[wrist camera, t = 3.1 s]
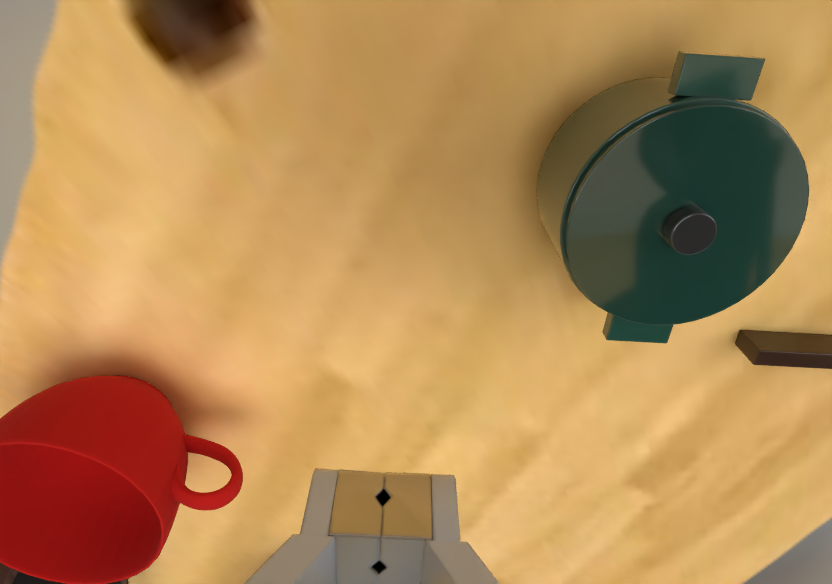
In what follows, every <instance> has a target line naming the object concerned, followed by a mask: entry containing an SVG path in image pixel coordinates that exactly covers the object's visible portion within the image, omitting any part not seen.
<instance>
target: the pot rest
mask: <svg viewBox="0 0 832 584" xmlns="http://www.w3.org/2000/svg"><path fill="white" fill-rule="evenodd" d="M735 344H736V345H737V347H738V348H739V349H740V350H741V351H742V352H743V353H744V355H745V356H746V357H747V358H748V359H749V360H750V361H751V362H752V364H754V365H768V366H787V367H806V368H824V369H832V335H818V334H800V333H782V332H764V331H746V330H741V331H740V333H739V336H738V338H737V340H736V343H735Z"/></svg>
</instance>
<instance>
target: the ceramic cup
mask: <svg viewBox="0 0 832 584" xmlns="http://www.w3.org/2000/svg"><path fill="white" fill-rule="evenodd" d="M188 452H191V453H197V454H201V455H205V456H208V457H211V458H213V459H216V460H218V461H220V462H222V463H223V464H225V465H226V466H227V467H228V468H229V469H230V471H231V474H232V476H231V479H230V481H229V482H228V483H227V484H226V485H225V486H224V487H223V488H221V489H219V490H217V491H214V492H208V493H199V492H194V491H192V490H190V489H188V488H187V487H186V486H185V479H186V473H187V465H188ZM242 482H243V473H242V468H241V466H240V463H239V461H238V459H237V458H236V456H235V455H234V454H233V453H232V452H231V451H230V450H228V449H227V448H225V447H224V446H222V445H219V444H217V443H214V442H211V441H208V440H205V439H201V438H198V437H194V436H189V435H185V432H184V430H183V427H182V425H181V422H180V420H179V418H178V416H177V414H176V412H175V411H174V409H173V408H172V406H171V403H170V402H169V400H168V399H167V397H166V396H165V395H164V394H163V393H162V392H161V391H160V390H158V389H157V388H156V387H154V386H153V385H151V384H149V383H147V382H145V381H143V380H140V379H138V378H134V377H129V376H121V375H116V376H93V377H84V378H79V379H75V380H71V381H67V382H64V383H60V384H58V385H55V386H52V387H50V388H48V389H46V390H44V391H42V392H40V393H38V394H36V395H34V396H32V397H31V398H29V399H27V400H25V401H24V402H22V403H21V404H19V405H18V406H16V407H15V408H13V409H12V410H11V411H9V412H8V413H7V414H6V415H4V416H3V417H2V418H1V419H0V563H2V564H4V565H6V566H7V567H10V568H12V569H15V570H17V571H20V572H22V573H25V574H27V575H30V576H34V577H38V578H41V579H45V580H49V581H54V582H60V583H66V584H107V583H112V582H117V581H122V580H124V579H127V578H130V577H132V576H135V575H137V574H139V573H140V572H142V571H143V570H145V569H147V568H148V567H149V566H150V565H151V564H152V563H153V562H154V561H155V560H156V559H157V558H158V556H159V555H160V552H161V550H162V548H163V546H164V544H165V542H166V540H167V537H168V535H169V533H170V530H171V527H172V525H173V522H174V519H175V516H176V513H177V511H178V507H179V504H180V503H182V504H183V505H185V506H188V507H190V508H193V509H197V510H214V509H218V508H221V507H223V506H225V505H227V504H228V503H230V502H231V501H232V500H233V499H234V498H235V497H236V496H237V495H238V493H239V491H240V489H241V486H242Z"/></svg>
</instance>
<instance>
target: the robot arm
mask: <svg viewBox="0 0 832 584" xmlns="http://www.w3.org/2000/svg"><path fill="white" fill-rule="evenodd" d="M244 584H499V582H498V581H497V580H496V578H495V577H494V576H493V574H492V573H491V572H490V571H489V569H488V568H487V567H486V565H485V564H484V563H483V562H482V560H481V559H480V558H479V556H478V555H477V554H476V552H475V551H474V550H473V549H472V547H471V546H470V545H469V543H468V542H460V529H459V517H458V504H457V492H456V479H455V477H454V475H439V474H431V475H430V474H419V473H390V472H385V473H379V472H365V471H351V470H333V469H318V468H316V469H315V471H314V473H313V476H312V480H311V485H310V490H309V494H308V499H307V504H306V508H305V513H304V518H303V522H302V527H301V532H300V535H298V534H293V535H292V536H291V537H290V538H289V539H288V540H287V541H286V542H285V543H284V544H283V545H282V546H281V547H280V548H279V549H278V550H277V551H276V552H275V553H274V554H273V555H272V556H271V557H270V558H269V559H268V560H267V561H266V562H265V563H264V564H263V565H262V566H261V567H260V568H259V569H258V570H257V571H256V572H255V573H254V574H253V575H252V576H251V577H250V578H249V579H248V580H247V581H246V582H245V583H244Z"/></svg>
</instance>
